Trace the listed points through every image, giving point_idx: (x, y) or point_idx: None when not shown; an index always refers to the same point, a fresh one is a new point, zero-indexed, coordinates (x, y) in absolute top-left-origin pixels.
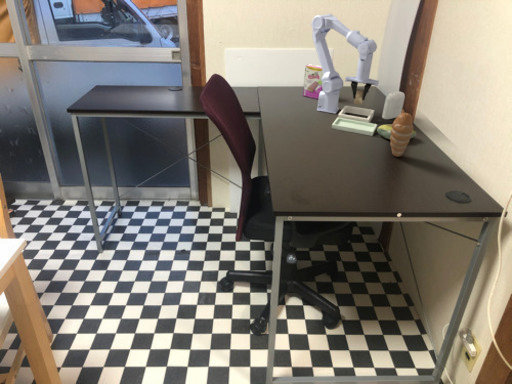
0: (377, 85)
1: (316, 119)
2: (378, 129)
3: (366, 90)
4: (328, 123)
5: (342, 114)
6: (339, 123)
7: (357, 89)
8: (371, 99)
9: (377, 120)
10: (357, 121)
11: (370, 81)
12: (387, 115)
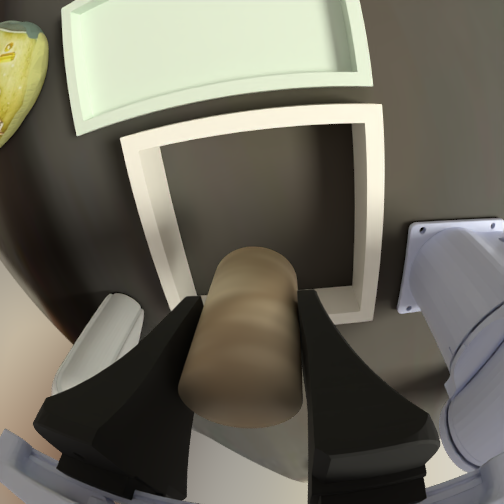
0: (3, 434)
1: (476, 66)
2: (32, 31)
3: (104, 379)
4: (394, 20)
5: (349, 115)
6: (322, 24)
7: (291, 415)
8: (278, 440)
9: (140, 258)
10: (198, 89)
11: (28, 500)
12: (105, 306)
